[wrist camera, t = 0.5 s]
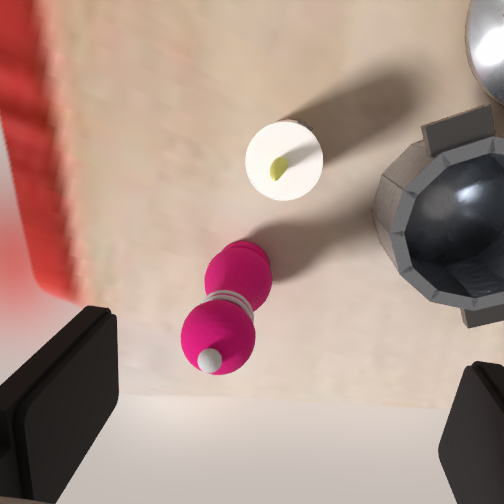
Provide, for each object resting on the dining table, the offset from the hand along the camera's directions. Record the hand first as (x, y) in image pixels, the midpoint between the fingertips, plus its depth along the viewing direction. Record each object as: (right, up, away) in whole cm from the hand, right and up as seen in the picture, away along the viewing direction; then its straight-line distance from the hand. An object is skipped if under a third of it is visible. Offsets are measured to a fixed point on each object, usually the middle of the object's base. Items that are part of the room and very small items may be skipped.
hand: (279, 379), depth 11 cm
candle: (+3, +14, +31) cm, 35 cm away
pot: (+20, +8, +31) cm, 38 cm away
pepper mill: (-2, +2, +36) cm, 36 cm away
